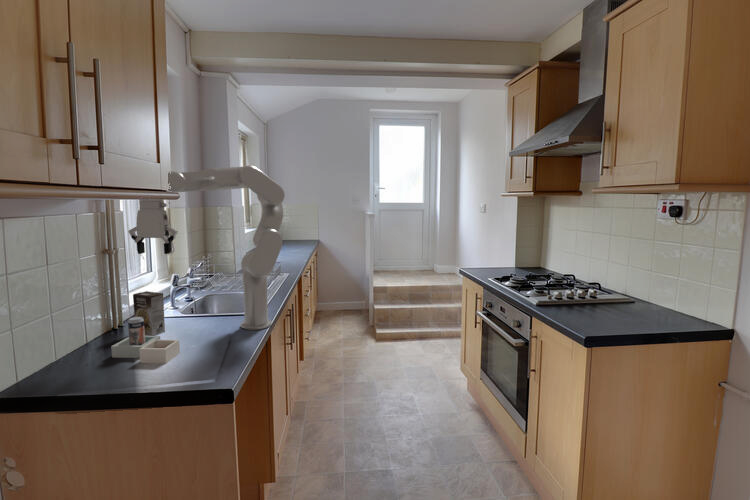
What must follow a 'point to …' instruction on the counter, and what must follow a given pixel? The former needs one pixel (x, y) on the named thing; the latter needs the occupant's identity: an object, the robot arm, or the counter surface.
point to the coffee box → (150, 311)
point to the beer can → (136, 331)
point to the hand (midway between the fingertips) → (154, 253)
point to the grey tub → (130, 348)
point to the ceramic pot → (159, 351)
